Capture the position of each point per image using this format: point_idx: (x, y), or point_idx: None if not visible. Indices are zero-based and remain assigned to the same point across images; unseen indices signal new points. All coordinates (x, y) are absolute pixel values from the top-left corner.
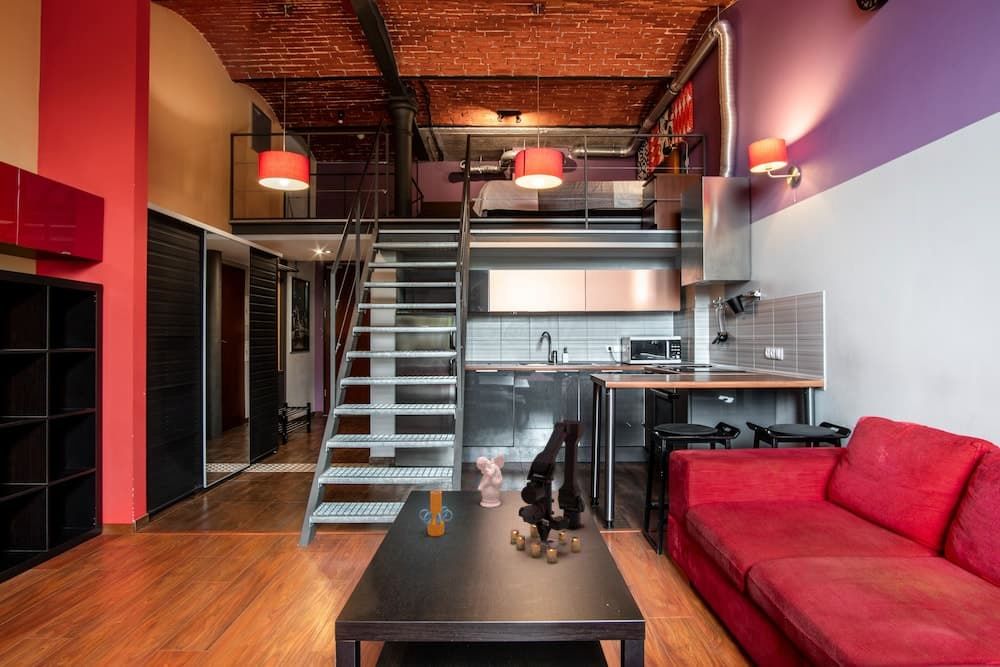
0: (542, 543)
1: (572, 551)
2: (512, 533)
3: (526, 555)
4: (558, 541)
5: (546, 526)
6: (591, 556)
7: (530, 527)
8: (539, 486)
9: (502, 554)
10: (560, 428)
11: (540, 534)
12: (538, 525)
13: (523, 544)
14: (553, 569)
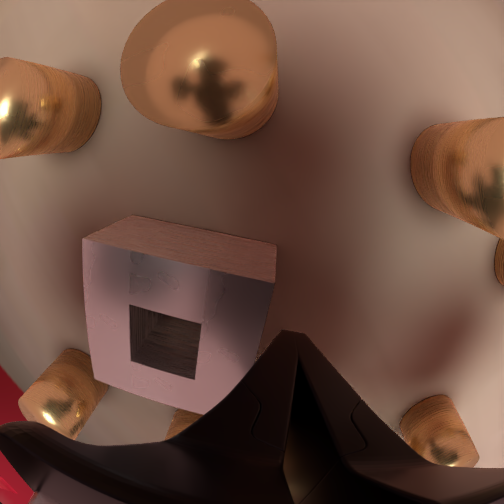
0: (229, 267)
1: (75, 351)
2: None
3: (323, 63)
4: (115, 377)
5: (8, 459)
6: (7, 339)
7: (472, 443)
8: None
9: (475, 9)
10: None
11: (313, 385)
12: (363, 502)
13: (441, 147)
14: (27, 45)
